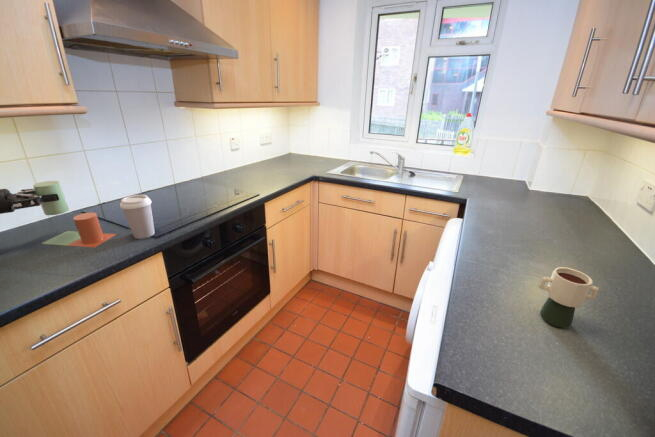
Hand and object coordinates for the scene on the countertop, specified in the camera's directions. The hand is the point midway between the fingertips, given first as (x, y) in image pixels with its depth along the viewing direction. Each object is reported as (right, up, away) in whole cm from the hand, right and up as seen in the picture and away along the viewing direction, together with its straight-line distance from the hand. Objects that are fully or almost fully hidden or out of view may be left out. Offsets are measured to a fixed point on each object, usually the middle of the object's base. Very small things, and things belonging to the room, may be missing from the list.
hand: (59, 193), depth 100 cm
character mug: (+146, -33, -28) cm, 152 cm away
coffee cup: (+23, -15, +9) cm, 29 cm away
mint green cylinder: (-2, -6, +1) cm, 6 cm away
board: (+3, -16, +5) cm, 17 cm away
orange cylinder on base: (+8, -16, +4) cm, 18 cm away
